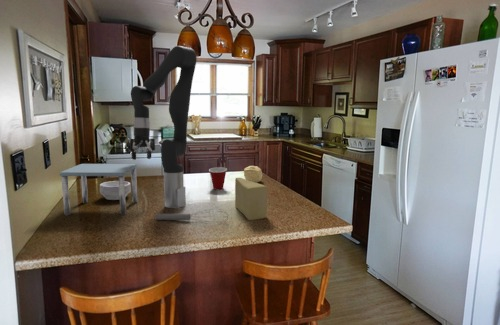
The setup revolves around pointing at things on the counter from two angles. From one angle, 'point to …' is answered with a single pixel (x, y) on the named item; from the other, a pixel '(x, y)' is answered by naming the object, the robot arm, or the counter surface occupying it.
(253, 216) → the beige rectangular block
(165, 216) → the kitchen whisk
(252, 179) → the beige textured ball
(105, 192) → the paper bowls
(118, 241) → the counter surface
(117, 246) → the counter surface
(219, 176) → the plastic cup
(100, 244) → the counter surface
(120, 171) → the small side table
